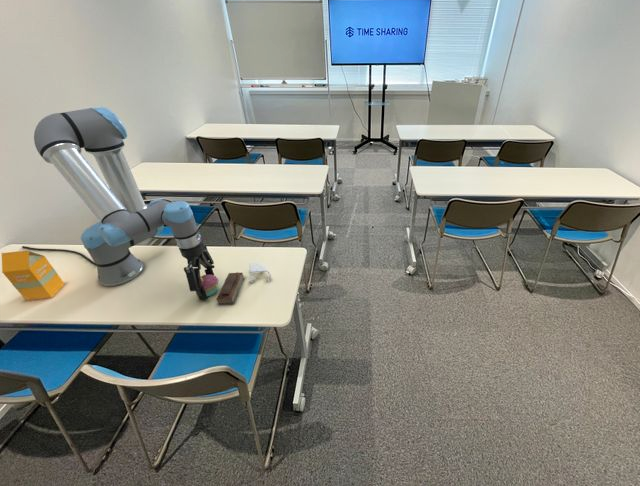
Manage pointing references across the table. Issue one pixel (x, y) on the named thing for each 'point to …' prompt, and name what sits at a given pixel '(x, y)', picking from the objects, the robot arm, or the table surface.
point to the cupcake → (209, 283)
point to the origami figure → (257, 270)
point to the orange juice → (31, 274)
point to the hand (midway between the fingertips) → (208, 290)
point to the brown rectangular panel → (230, 288)
